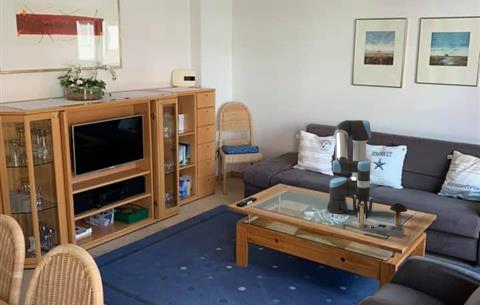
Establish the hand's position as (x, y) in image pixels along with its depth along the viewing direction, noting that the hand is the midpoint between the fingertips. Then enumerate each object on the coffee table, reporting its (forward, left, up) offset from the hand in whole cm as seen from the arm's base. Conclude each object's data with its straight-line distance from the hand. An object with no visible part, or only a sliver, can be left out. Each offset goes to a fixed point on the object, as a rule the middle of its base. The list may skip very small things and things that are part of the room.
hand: (361, 222), depth 307 cm
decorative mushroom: (+15, +25, -7) cm, 30 cm away
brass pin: (0, 0, -3) cm, 3 cm away
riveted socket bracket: (+10, +8, -7) cm, 15 cm away
